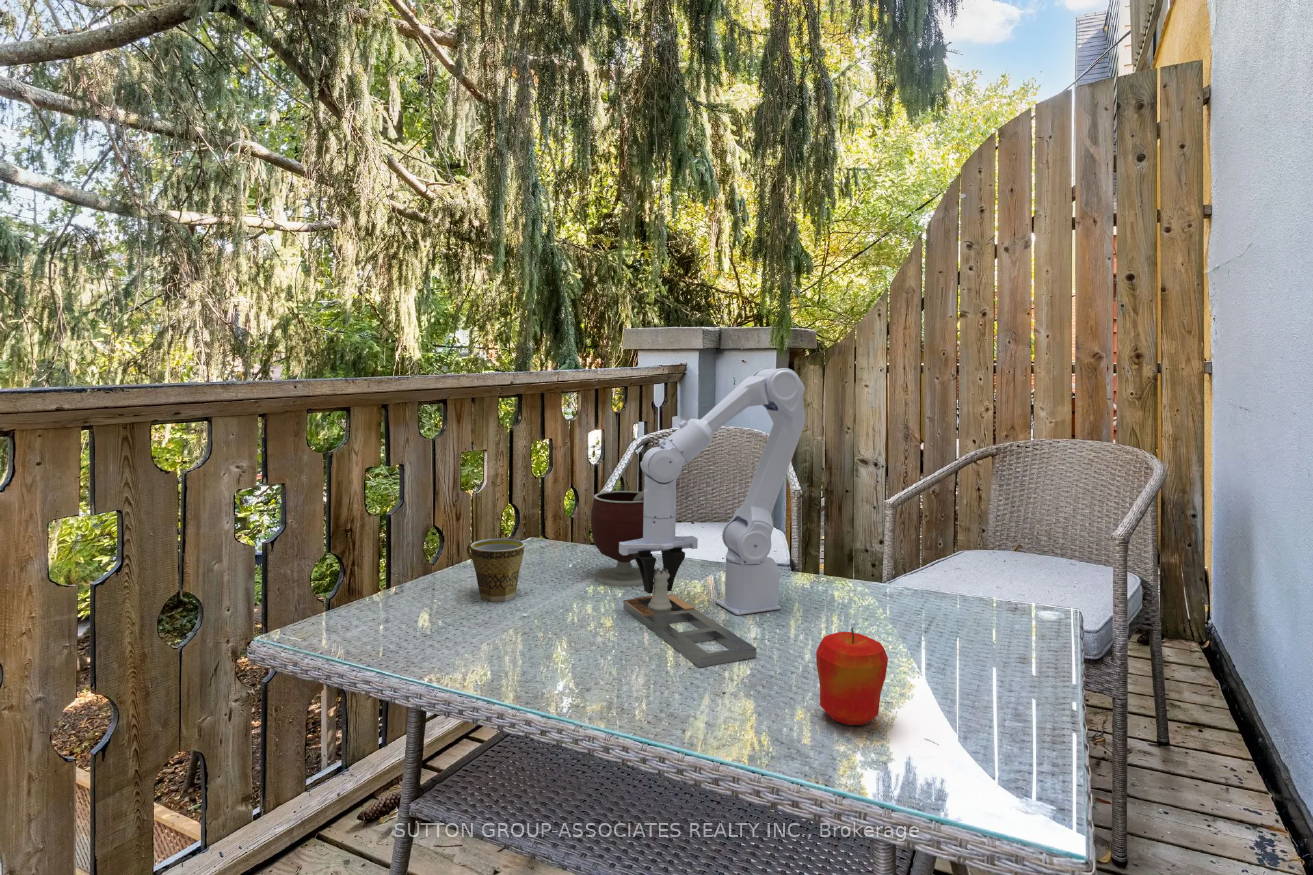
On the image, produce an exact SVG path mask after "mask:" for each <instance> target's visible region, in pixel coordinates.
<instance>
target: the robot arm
mask: <svg viewBox="0 0 1313 875" xmlns="http://www.w3.org/2000/svg"><path fill="white" fill-rule="evenodd" d="M805 391H806V388H805V385H804V384H803V382H802V380H801V378H800V376H799V375H798V374H797V372H796V371H794V370H793V369H790V368H787V367H783V368H782V367H781V368H770V367H762V368H759V369H757V370H756V371H755V372H753V374H752V375H749V376H748V377H747V378H745V379H743V380H742V381H741V382H740V383H739V384H738V385H737V386H736V387H735V388H734V389H733V390H732V391H731V392H730V393H729V394H727V395H726V396H725V397H724V398H723V399H721V401H720V402H718V404H716V405H715V406H713V408H712V409H711V410H709V411H708V412H707V413H705V415H703V416H702V418H700V419H699V418H690V419H689V420H688V421H687V420H684V419H683V420H681V422H680V423H678V426H679V428H678V429H677V430H675V431H674V432H673V433H672V434H670V435H669V436H668V437H667V438H665V439H664V438H661V439H660V440H659V441H658V445H659V446H655V447H650V449H648V450H647V451H646V452H645V453H644V454H643V458H642V460H641V461H640V463H639V464H640V469H641V471H642V472H643V474H644V489H643V491H644V510H643V538H641V539H636V540H631V541H626V542H619V553H620V554H622V555H629V554H633V557H634V558H635V559H634V560H635V562H636V565H637V568H639V570H640V573H641V576H642V580H643V591H644V592H646V594H649V595H651V594H653V590H654V585H653V582H654V578H653V575H654V569H655V566H656V562H657V558H656V557H655V556H653V553H652V552H661V557H662V558H661V560H662V568H665V569H668V573H669V574H670V577H669V578H668V579H667V582H668V585H667V592H672V591H673V586H674V583H675V579H676V576H677V574H678V571H679V568H680V567H681V565H682V563H683V562H684V560H685V558H686V552H685V551H684V550H685V549H691V550H695V549H696V550H697V549H698V546H699V545H698V543H699V542H698V540H699V538H698V537H696V536H694V535H685V536H684V535H682V536H681V535H679V536H676V526H677V525H676V522H677V520H676V518H677V517H676V516H677V515H676V514H677V479H678V478H679V477H680V475H681V472H682V469H683V466H684V467H685V466H686V465H687V464H688V463H689V462H691V461H692V460H693V459H694V458H696V457H697V456H698V455H699V454H700V453H702V452H703V451H704V450H705V449H707V448H708V447H709V446H710V445H711V444H712V442H713V437H714V433H716V432H717V431H718V430H719V429H721V428H722V427H724V426H725V425H726V424H727V423H728V422H730V421H731V420H732V419H734V418H735V417H737V416H738V415H739V414H741V413H742V412H743V411H745V410H746V409H748V408H749V407H757V406H762V407H764V408H765V410H766V411H767V414H768V416H770V417H769V418H770V419H771V422H772V427H771V429H770V431H769V434H768V437H767V440H766V443H765V446H764V448H763V450H762V454H761V456H760V458H759V461H758V464H757V467H756V469H755V471H754V475H753V477H752V480H751V483H750V485H749V488H748V491H747V494H746V496H745V499H744V502H743V503H742V504H741V505H740V506H739V507H738V508H737V509H736V510H735V511H734V514H733V517H732V518H731V519H730V520H729V521H728V522H727V523H726V524H725V526H724V528H723V529H722V535H721V536H722V539H721V540H722V543H723V544H724V545H725V547H726V548H727V551H726V555H725V574H724V575H725V577H724V578H725V582H724V598H721V599H720V598H719V599H715V603H716V605H718V606H721V607H722V608H724V609H726V610H728V611H729V612H730V613H733V614H734V615H736V616H740V615H747V614H754V613H761V612H768V611H769V612H770V611H775V610H781V605H779V602H780V601H779V598H780V596H779V595H780V594H779V593H780V570H779V567H778V566H779V565H778V564H777V562H776V560H774V558H772V557H769V554H770V552H771V549H772V534H773V530H774V521H773V517H772V513H773V511H774V508H775V505H776V502H777V500H778V497H779V494H780V492H781V489H782V486H783V483H784V480H785V479H786V475H787V473H788V471H789V468H790V465H791V462H792V460H793V457H794V454H795V451H796V448H797V446H798V443H799V442H800V438H801V435H802V433H803V430H804V427H805V424H806V414H805V405H804V394H805Z"/></svg>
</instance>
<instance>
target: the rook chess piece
mask: <svg viewBox="0 0 1313 875" xmlns="http://www.w3.org/2000/svg"><path fill="white" fill-rule="evenodd" d="M669 577H670V574H669V573H668V569H665V568H663V567H662V568H661V569H660V567H657V568H654V575H653V593H652V595H651V596H652V599H651V602H650V603H649V604H648V607H647V608H648V609H650V610H651V611H652V612H654V614H659V613H666V612H673V610H671V608H672V605H671V603H670V600H669V599H668V595H669V593H668V592H669V591H667V585H668V582H667V579H668V578H669Z"/></svg>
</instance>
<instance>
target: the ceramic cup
mask: <svg viewBox="0 0 1313 875" xmlns="http://www.w3.org/2000/svg"><path fill="white" fill-rule="evenodd" d="M525 546H526V544H525V542H523V541H521V540H519V539H514V538H487V539H482V540H481V539H480V540H478V541H474V542H470V543H468V545H467V546H466V553H467V555H468V557H469V558H470V559H471V561H472V564H473V567H474V568H473V569H474V570H475V571H474V572H475V575H476V576H475V578H476V581H477V582H476V583H477V587H478V588H477V589H478V592H479V593H478V594H479V598H480V600H482V601H485V600H486V601H485V602H489V603H490V602H491V603H495V602H508V601H510V600H513V599H515V598H516V595H517V594H516V593H517V589H518V582H519V577H520V571H521V566H522V563H523V559H524V552H525ZM507 600H508V601H507Z"/></svg>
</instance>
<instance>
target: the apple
mask: <svg viewBox="0 0 1313 875" xmlns="http://www.w3.org/2000/svg"><path fill="white" fill-rule="evenodd" d="M816 649H817V650H816V651H815V652H816V653H815V656H816V657H815V658H816V669H817V675H818V681H819V706H820V707H821V708H822V710H823V711H824V712H825V713H826V714H827V715H828V716H829V717H830V718H831V719H832V720H834V721H835V722H837V723H840V724H843V725H848V726H852V725H860V726H863V725H865V724H867V723H869V722H871V721H872V720H874V719H875V718H876V717H878V716H879V714H880V713H879V711H880V703H881V702H880V701H881V695H882V694H881V693H882V690H883V687H884V684H885V680H886V676H887V670H888V661H889V656H888V654H887V652H886V650H885V647H884V646H883V645H882V643H881V642H879V641H878V640H875V639H873V638H871V637H869V636H867V635H864V634H861V633H856V632H854V628H853V627H851V629H850V631H840V632H835V633H830V634H827V635H825V636H823V637H822V639H821V641H820V643H819V645H818V646H817V648H816Z"/></svg>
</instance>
